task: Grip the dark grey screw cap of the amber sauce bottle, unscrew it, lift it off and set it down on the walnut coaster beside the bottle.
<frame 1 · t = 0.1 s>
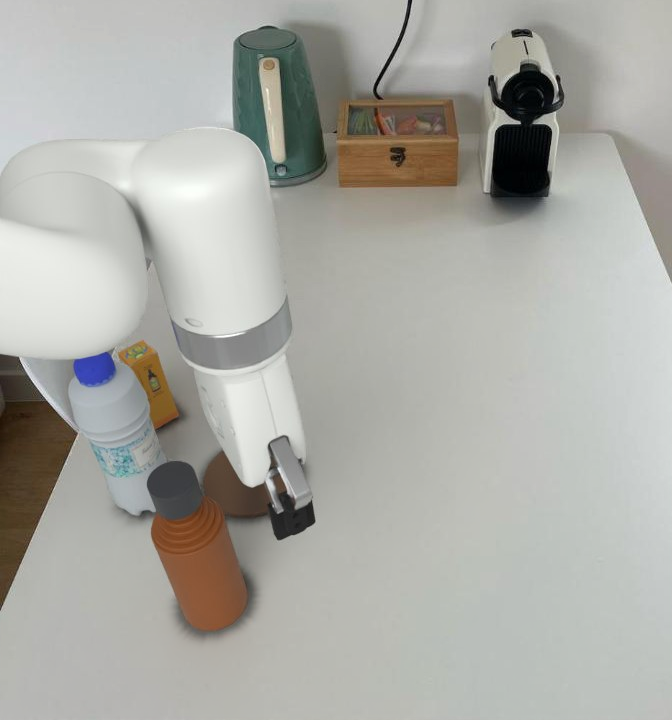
hand: (270, 486, 64), 16 cm above the table, tool pointing down, fingers open, 9 cm apart
cap: (171, 481, 63), point 18 cm above the table, screwed on, not yet turned
supplement box: (160, 417, 93), on the table
coaster: (251, 479, 86), on the table
bottle: (147, 497, 85), on the table
sauce bottle: (215, 601, 75), on the table
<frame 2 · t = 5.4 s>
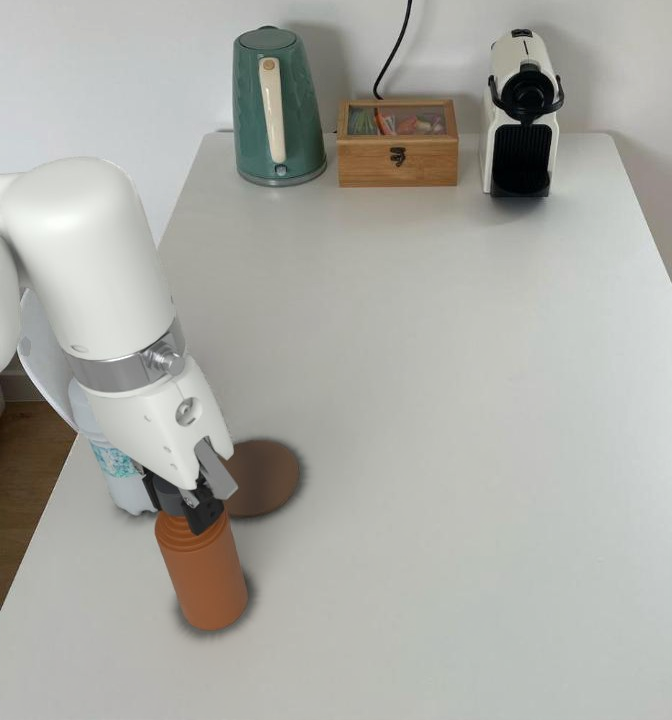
hand: (189, 508, 66), 14 cm above the table, tool pointing down, fingers closed on cap, 3 cm apart
cap: (177, 478, 63), point 18 cm above the table, turned 116° so far, risen 0.1 cm, still on its thread, touching gripper
sauce bottle: (215, 600, 75), on the table, touching gripper
everything else where it was.
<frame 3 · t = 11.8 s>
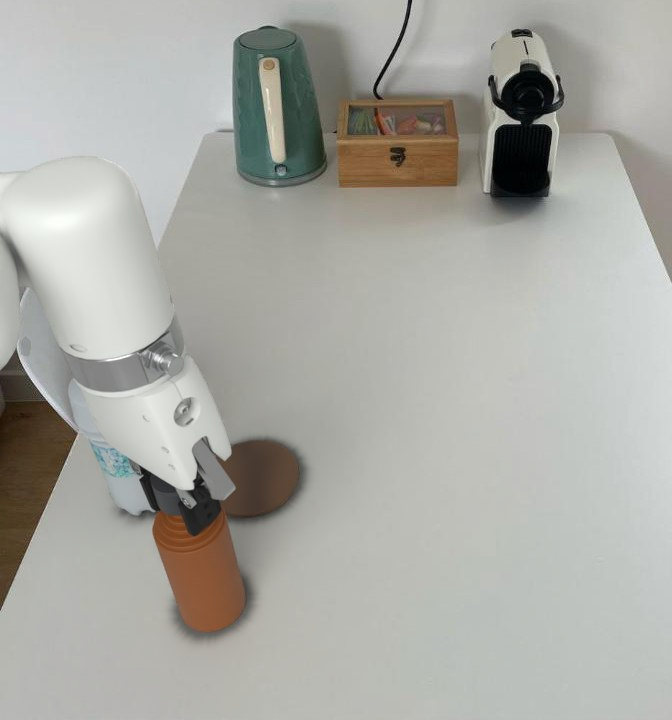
hand: (186, 509, 66), 14 cm above the table, tool pointing down, fingers closed on cap, 3 cm apart
cap: (175, 477, 63), point 18 cm above the table, turned 233° so far, risen 0.2 cm, still on its thread, touching gripper
sauce bottle: (213, 602, 75), on the table
everything else where it was.
when the fingers open (2 cm above the table, at t = 29.7 s): cap drops 3 cm, resting on coaster.
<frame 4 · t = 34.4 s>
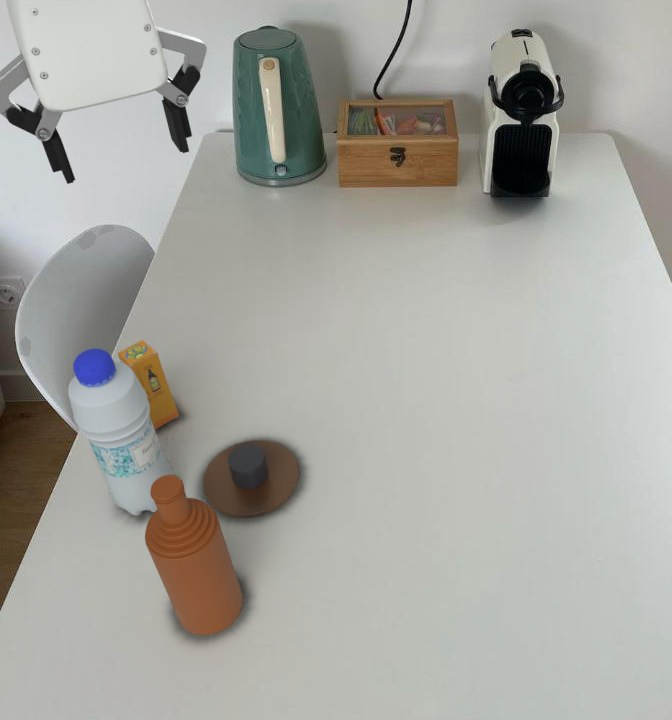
hand: (125, 160, 69), 33 cm above the table, tool pointing down, fingers open, 9 cm apart
cap: (246, 459, 84), point 3 cm above the table, off its thread, touching coaster
everything else where it was.
at the end: cap came off its thread; cap inside the target area on the coaster (0.1 cm from its centre), point 3.1 cm above the coaster's base; the gripper is holding nothing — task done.
